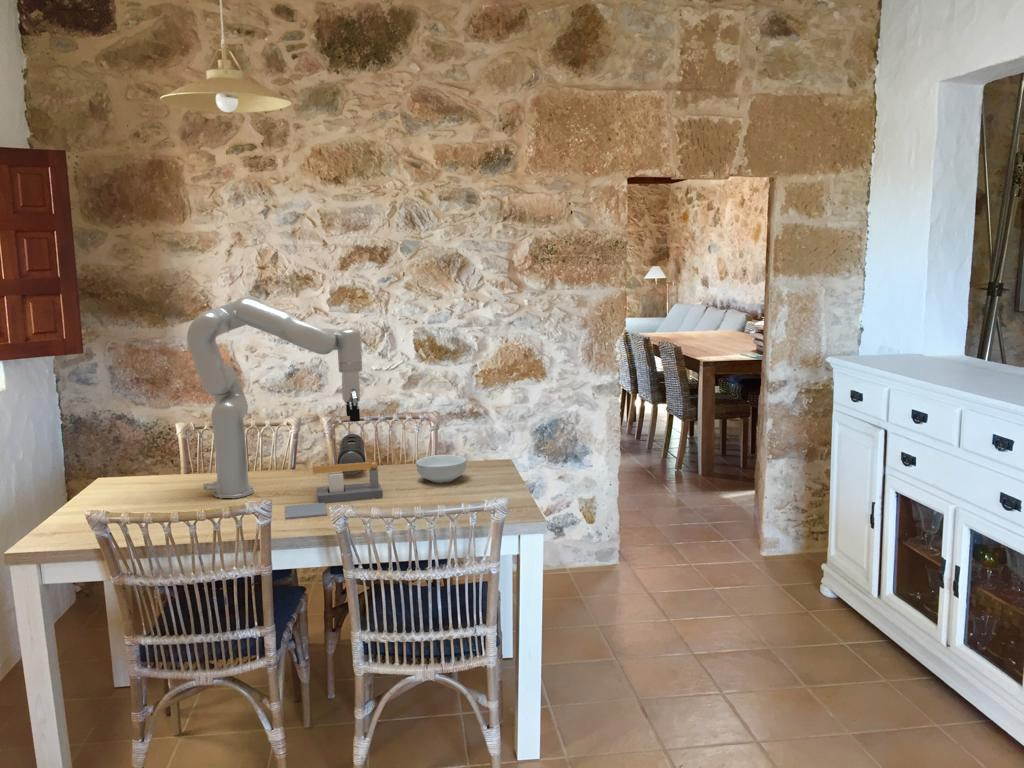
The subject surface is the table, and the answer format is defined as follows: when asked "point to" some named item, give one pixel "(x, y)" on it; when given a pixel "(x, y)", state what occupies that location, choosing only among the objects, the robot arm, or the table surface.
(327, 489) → the socket block
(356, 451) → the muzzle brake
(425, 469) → the cereal bowl
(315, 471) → the orange wooden bar
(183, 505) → the table surface
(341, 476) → the plug
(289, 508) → the mat
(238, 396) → the robot arm
